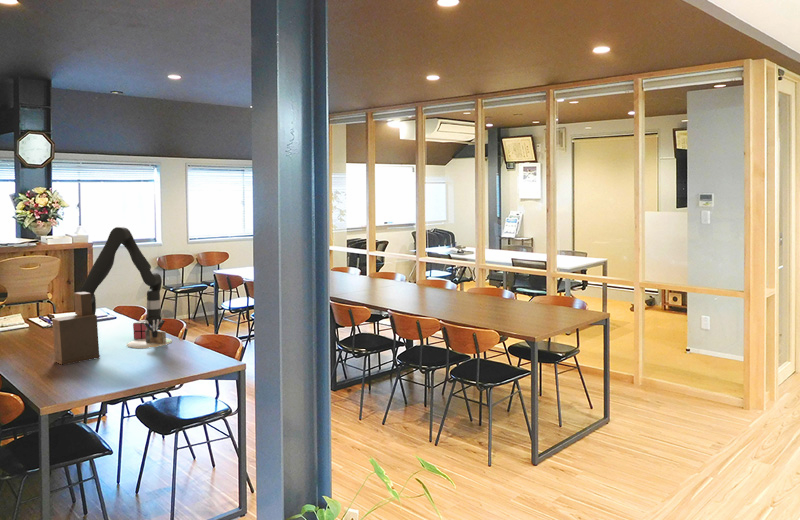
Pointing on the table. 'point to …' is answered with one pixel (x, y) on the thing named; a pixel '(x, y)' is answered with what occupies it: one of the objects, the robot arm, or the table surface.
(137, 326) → the puzzle cube
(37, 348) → the table surface
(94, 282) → the robot arm
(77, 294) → the stepped brown block
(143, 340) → the disc
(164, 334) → the peg lever
